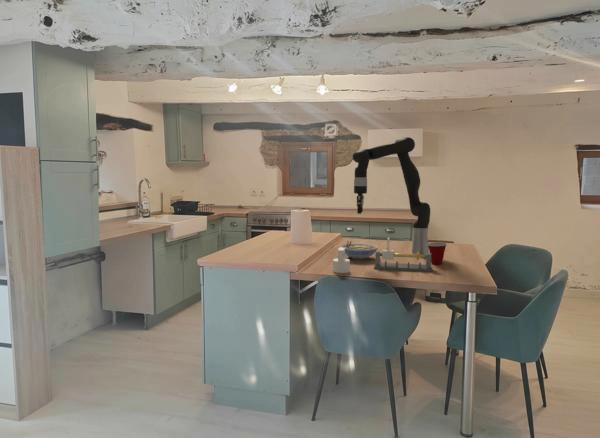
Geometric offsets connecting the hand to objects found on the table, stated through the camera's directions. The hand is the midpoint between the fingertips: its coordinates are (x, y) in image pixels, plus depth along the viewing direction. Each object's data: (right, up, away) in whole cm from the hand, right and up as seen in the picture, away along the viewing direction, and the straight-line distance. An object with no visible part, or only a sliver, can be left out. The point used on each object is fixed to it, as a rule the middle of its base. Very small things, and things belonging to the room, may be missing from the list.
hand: (360, 212), depth 261 cm
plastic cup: (+43, -30, -6) cm, 52 cm away
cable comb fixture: (+21, -30, -17) cm, 41 cm away
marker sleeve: (+13, -26, -15) cm, 33 cm away
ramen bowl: (+1, -28, +9) cm, 29 cm away
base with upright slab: (-13, -32, -24) cm, 42 cm away
